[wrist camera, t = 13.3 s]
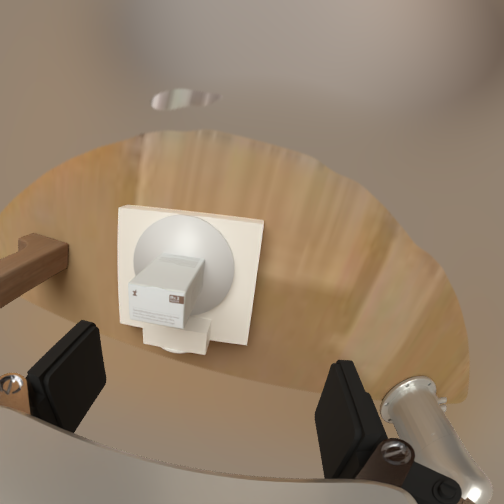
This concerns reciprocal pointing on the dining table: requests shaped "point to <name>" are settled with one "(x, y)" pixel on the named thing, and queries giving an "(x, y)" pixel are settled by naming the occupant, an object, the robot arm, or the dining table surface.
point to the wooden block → (30, 265)
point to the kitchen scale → (215, 271)
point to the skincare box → (166, 290)
